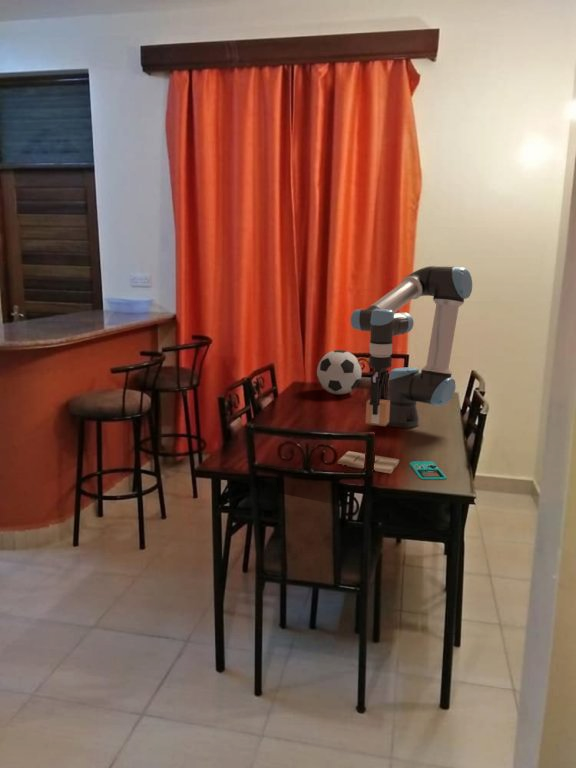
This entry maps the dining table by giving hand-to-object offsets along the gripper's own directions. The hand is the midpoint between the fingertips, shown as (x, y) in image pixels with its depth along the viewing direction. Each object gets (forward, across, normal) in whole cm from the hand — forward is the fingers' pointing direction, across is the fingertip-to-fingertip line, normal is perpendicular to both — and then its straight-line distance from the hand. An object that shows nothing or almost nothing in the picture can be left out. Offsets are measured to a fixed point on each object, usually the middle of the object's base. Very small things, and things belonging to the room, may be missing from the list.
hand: (377, 420), depth 201 cm
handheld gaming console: (+12, +10, +20) cm, 25 cm away
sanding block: (+1, 0, 0) cm, 1 cm away
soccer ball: (+13, -76, -41) cm, 87 cm away
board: (+12, +12, +1) cm, 17 cm away
